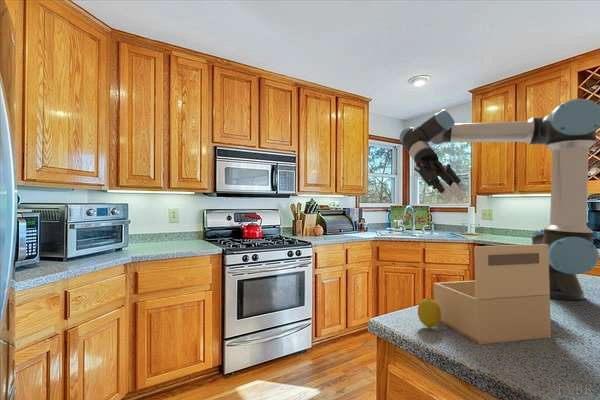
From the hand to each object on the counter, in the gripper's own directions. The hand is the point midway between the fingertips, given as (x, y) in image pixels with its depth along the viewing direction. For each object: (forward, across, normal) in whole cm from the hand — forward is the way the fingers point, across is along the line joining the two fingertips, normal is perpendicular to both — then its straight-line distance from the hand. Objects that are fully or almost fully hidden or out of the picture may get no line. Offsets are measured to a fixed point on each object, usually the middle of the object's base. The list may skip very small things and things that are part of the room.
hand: (456, 198), depth 91 cm
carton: (+34, +3, -14) cm, 37 cm away
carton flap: (+33, +3, -1) cm, 33 cm away
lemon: (+33, +18, -16) cm, 41 cm away
